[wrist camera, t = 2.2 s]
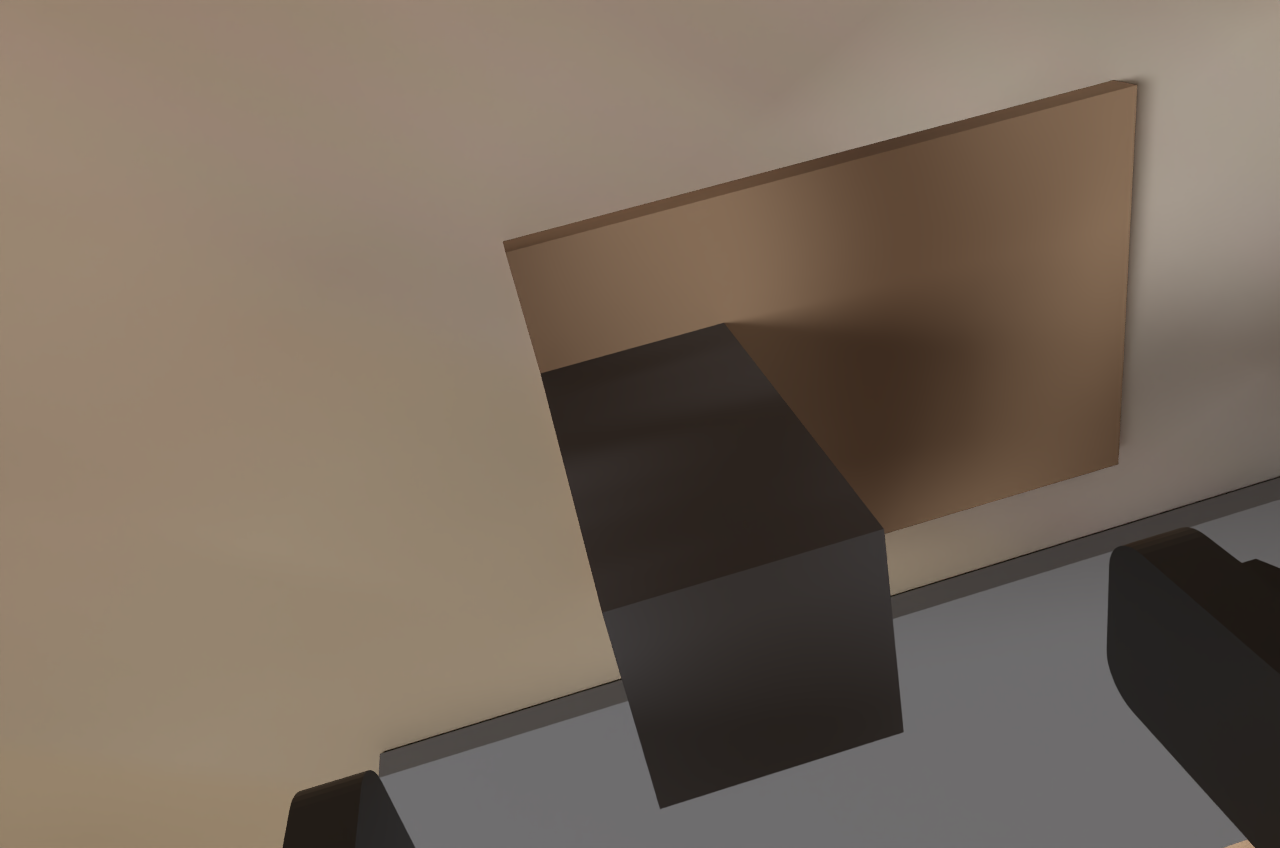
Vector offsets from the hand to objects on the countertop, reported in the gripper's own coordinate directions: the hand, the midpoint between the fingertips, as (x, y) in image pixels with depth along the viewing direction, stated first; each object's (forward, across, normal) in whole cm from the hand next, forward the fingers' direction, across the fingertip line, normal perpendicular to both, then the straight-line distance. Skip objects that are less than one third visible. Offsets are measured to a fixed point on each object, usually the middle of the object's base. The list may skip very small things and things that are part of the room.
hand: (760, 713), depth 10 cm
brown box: (+7, -4, 0) cm, 8 cm away
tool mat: (+7, -4, +11) cm, 14 cm away
